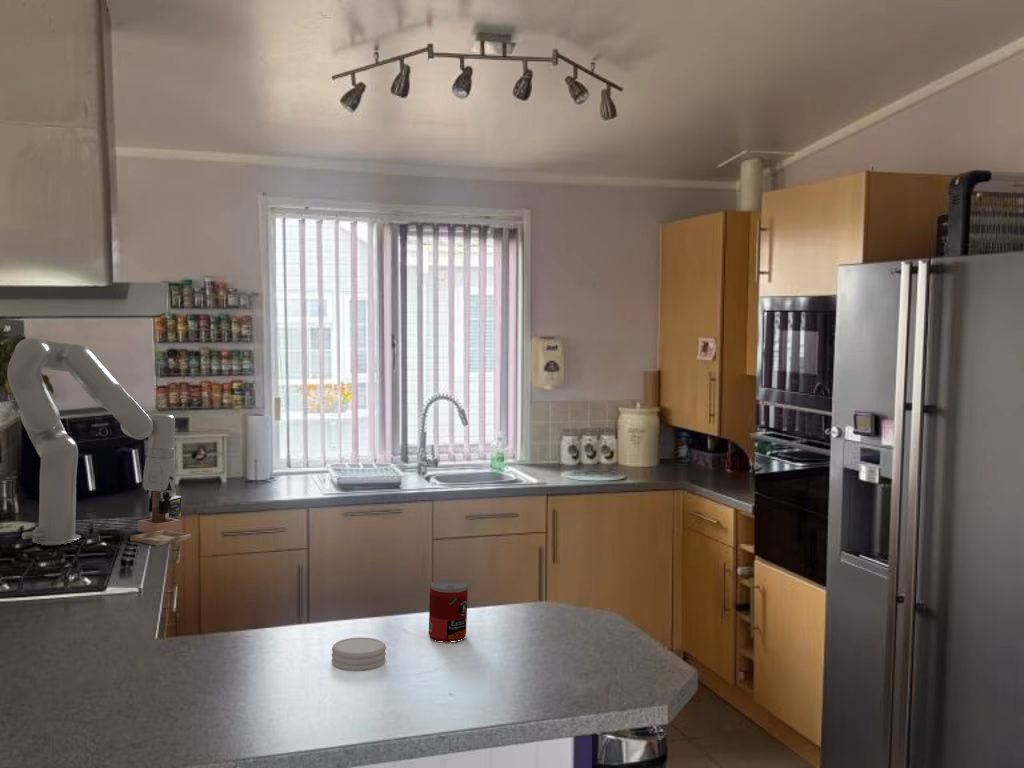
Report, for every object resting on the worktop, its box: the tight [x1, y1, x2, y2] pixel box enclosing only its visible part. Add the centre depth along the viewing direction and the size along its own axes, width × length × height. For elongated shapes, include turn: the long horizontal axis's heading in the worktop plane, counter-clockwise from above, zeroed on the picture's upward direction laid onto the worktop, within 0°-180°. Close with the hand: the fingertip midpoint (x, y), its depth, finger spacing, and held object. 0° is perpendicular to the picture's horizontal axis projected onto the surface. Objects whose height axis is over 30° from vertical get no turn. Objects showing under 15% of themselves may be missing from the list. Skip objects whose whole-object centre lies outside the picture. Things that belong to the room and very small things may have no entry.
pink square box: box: [137, 517, 182, 534], centre depth 274 cm, size 9×9×4 cm
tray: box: [129, 530, 192, 547], centre depth 261 cm, size 12×12×2 cm
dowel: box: [151, 490, 166, 523], centre depth 274 cm, size 4×4×14 cm
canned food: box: [428, 579, 469, 642], centre depth 181 cm, size 8×8×11 cm
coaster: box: [331, 637, 387, 672], centre depth 165 cm, size 10×10×4 cm
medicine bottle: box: [150, 483, 182, 519], centre depth 299 cm, size 7×7×12 cm
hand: (158, 511), depth 274 cm, fingers closed on dowel, 4 cm apart
